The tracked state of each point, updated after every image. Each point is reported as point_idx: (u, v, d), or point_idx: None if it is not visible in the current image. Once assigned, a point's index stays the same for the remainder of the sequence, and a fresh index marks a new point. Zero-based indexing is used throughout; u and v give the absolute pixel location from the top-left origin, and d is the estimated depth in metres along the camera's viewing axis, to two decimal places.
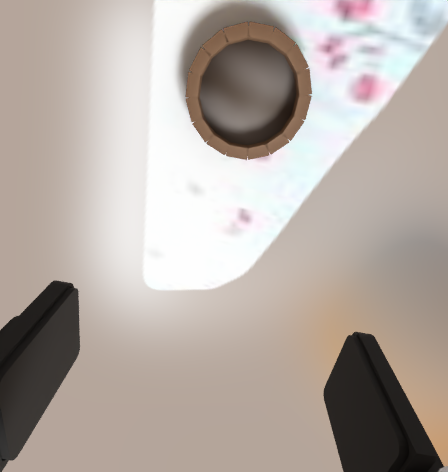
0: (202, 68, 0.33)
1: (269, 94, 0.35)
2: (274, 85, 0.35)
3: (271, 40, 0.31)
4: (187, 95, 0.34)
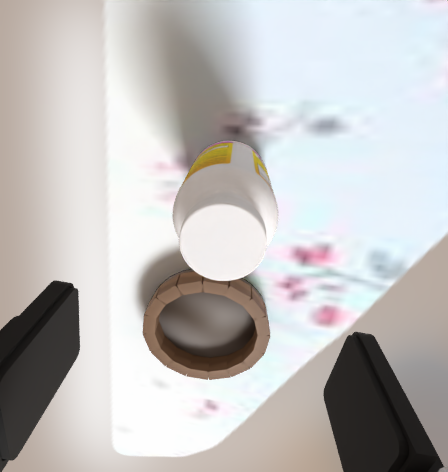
0: (158, 313, 0.32)
1: (229, 321, 0.34)
2: (233, 314, 0.34)
3: (226, 295, 0.31)
4: (144, 331, 0.33)
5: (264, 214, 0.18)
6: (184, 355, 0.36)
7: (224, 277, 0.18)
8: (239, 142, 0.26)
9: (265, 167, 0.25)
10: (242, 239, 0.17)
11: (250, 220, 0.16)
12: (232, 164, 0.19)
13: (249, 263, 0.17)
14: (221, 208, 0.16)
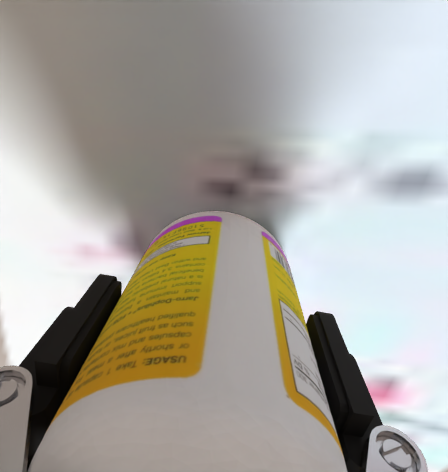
0: None
1: None
2: None
3: None
4: None
5: None
6: None
7: None
8: (235, 216, 0.13)
9: (290, 272, 0.12)
10: None
11: None
12: (208, 380, 0.06)
13: None
14: None
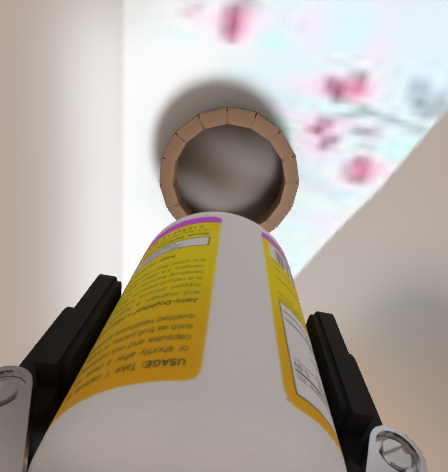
0: (177, 154, 0.29)
1: (253, 176, 0.32)
2: (258, 167, 0.31)
3: (253, 127, 0.28)
4: (161, 181, 0.30)
5: None
6: None
7: None
8: (235, 217, 0.13)
9: (290, 274, 0.12)
10: None
11: None
12: (207, 383, 0.06)
13: None
14: None
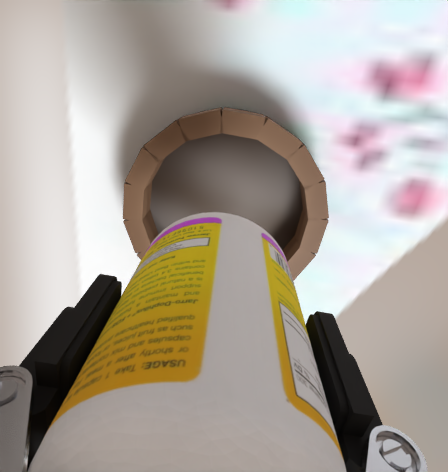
0: (147, 179, 0.20)
1: (260, 207, 0.22)
2: (267, 194, 0.22)
3: (261, 139, 0.18)
4: (125, 216, 0.21)
5: None
6: None
7: None
8: (235, 218, 0.13)
9: (290, 274, 0.12)
10: None
11: None
12: (207, 384, 0.06)
13: None
14: None
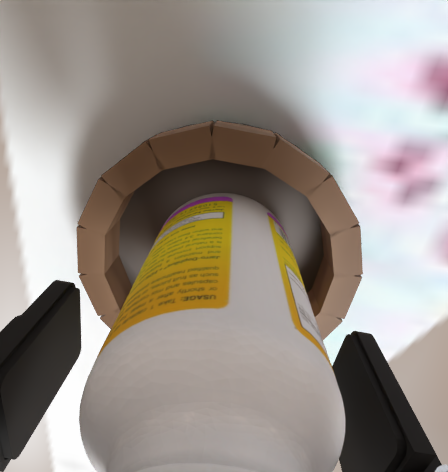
0: (108, 221, 0.14)
1: None
2: None
3: (269, 167, 0.13)
4: (81, 270, 0.15)
5: (318, 457, 0.07)
6: None
7: None
8: (244, 198, 0.14)
9: (291, 248, 0.14)
10: None
11: None
12: (234, 311, 0.07)
13: None
14: None
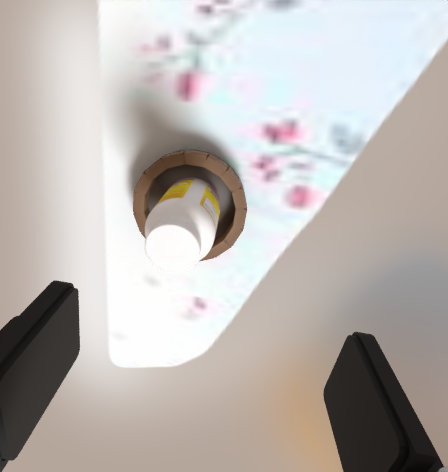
0: (146, 189, 0.36)
1: None
2: None
3: (205, 166, 0.35)
4: (134, 210, 0.37)
5: (203, 231, 0.28)
6: None
7: (174, 271, 0.27)
8: (199, 179, 0.36)
9: (216, 198, 0.35)
10: (184, 247, 0.26)
11: (188, 235, 0.26)
12: (183, 198, 0.29)
13: (189, 262, 0.27)
14: (170, 227, 0.26)
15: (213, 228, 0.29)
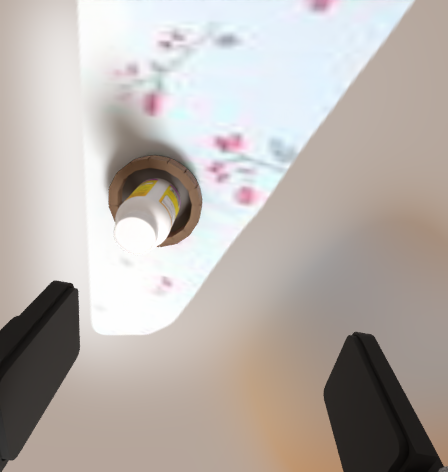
0: (118, 186, 0.44)
1: None
2: None
3: (166, 170, 0.43)
4: (109, 204, 0.45)
5: (160, 223, 0.37)
6: None
7: (136, 252, 0.36)
8: (162, 179, 0.44)
9: (176, 195, 0.44)
10: (144, 234, 0.35)
11: (147, 225, 0.34)
12: (146, 196, 0.37)
13: (148, 246, 0.35)
14: (133, 219, 0.34)
15: (169, 220, 0.38)
